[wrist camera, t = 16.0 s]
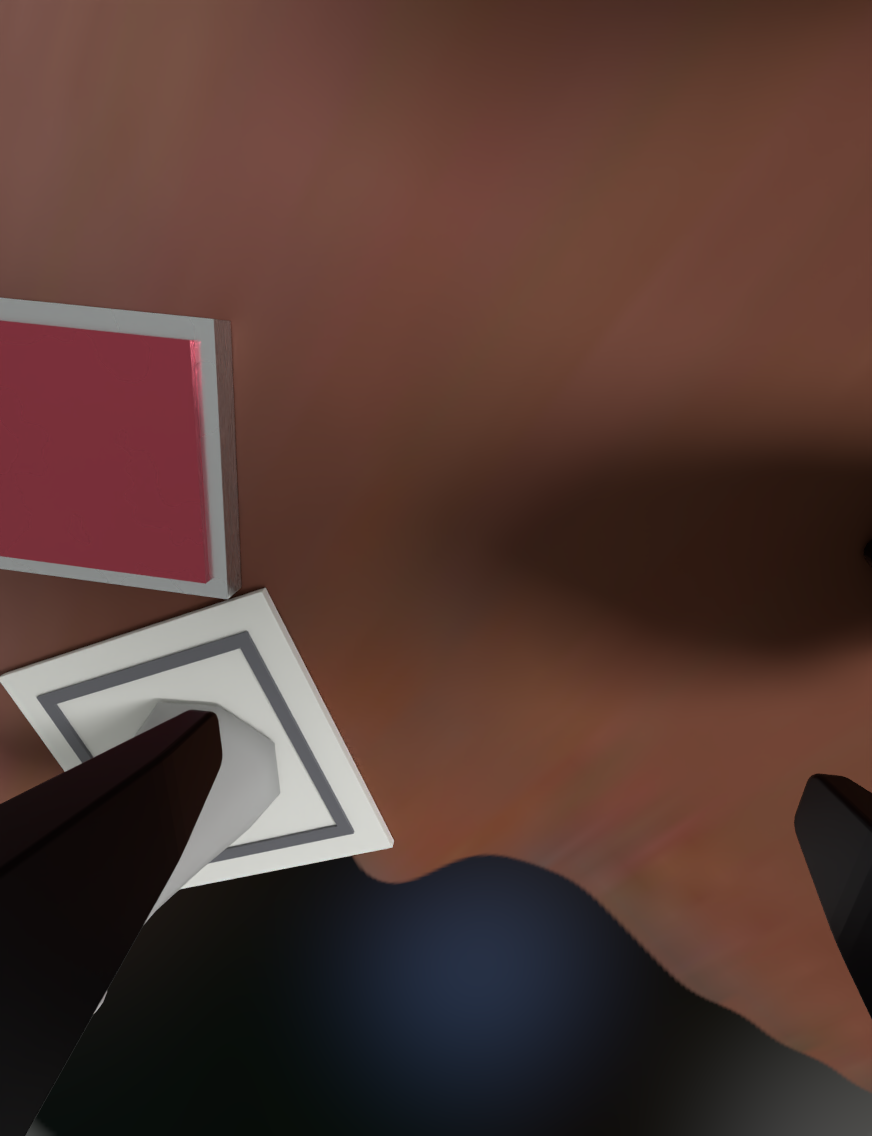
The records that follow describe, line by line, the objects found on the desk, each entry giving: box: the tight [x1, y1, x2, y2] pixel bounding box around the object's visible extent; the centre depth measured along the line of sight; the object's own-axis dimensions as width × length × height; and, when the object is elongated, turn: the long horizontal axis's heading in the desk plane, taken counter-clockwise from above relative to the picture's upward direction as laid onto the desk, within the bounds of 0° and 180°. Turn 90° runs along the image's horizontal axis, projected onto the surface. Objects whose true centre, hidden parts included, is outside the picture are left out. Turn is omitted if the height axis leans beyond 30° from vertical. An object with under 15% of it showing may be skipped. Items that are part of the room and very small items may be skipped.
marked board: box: [0, 588, 394, 889], centre depth 26 cm, size 14×14×1 cm
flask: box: [94, 702, 280, 1013], centre depth 21 cm, size 7×7×10 cm
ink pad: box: [0, 298, 241, 599], centre depth 21 cm, size 10×10×2 cm
